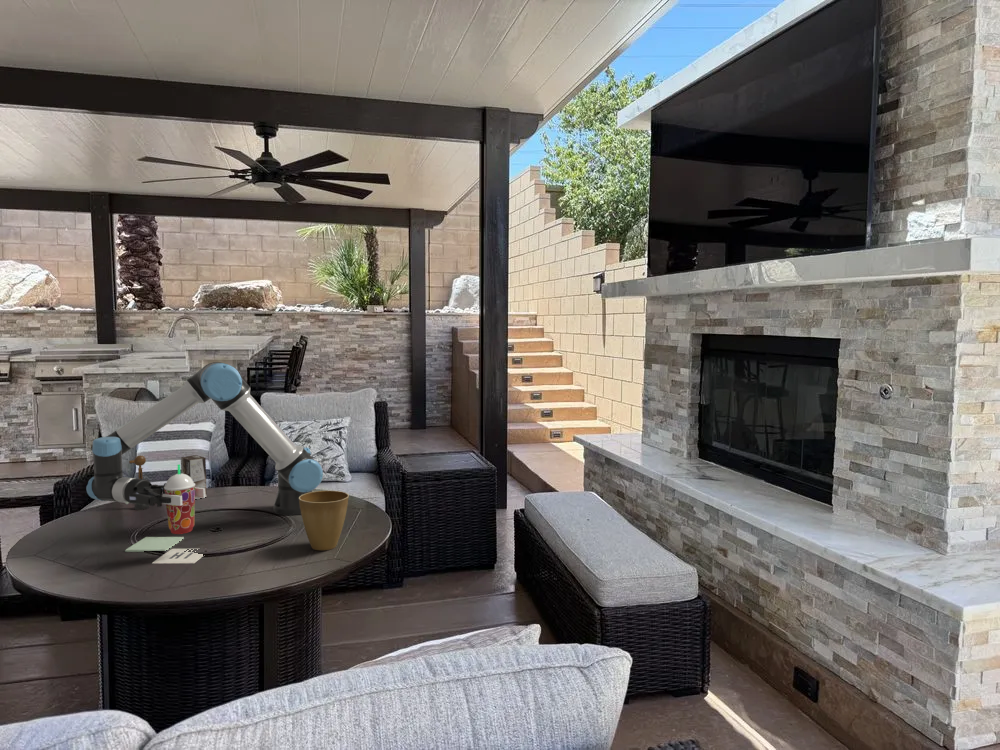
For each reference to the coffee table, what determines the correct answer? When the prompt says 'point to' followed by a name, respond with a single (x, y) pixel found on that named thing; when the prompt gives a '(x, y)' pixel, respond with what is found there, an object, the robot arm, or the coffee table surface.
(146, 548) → the coaster
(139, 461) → the wooden tabletop sculpture
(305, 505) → the plant pot
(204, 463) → the coffee box
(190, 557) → the tile
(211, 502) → the coffee table surface
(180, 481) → the smoothie
